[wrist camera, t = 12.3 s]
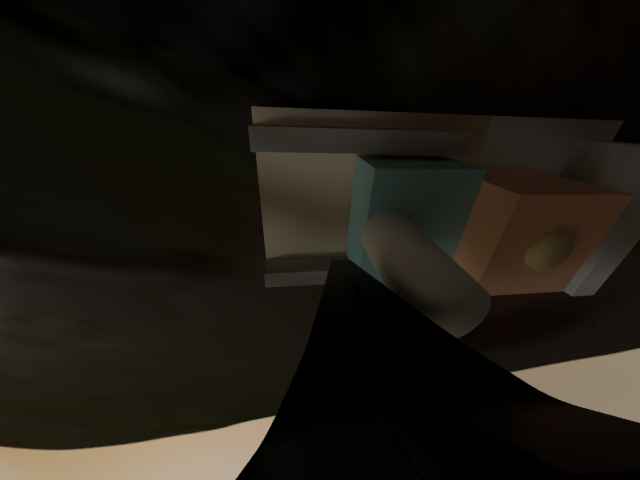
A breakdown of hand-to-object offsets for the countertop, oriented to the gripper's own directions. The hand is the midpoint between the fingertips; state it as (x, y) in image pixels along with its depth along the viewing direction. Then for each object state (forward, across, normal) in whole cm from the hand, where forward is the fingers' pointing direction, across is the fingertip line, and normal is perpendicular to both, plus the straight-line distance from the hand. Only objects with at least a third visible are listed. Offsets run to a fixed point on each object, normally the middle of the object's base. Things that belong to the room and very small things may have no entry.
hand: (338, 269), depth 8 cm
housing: (+6, -9, 0) cm, 11 cm away
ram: (+5, -4, 0) cm, 7 cm away
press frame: (+7, -7, 0) cm, 10 cm away
